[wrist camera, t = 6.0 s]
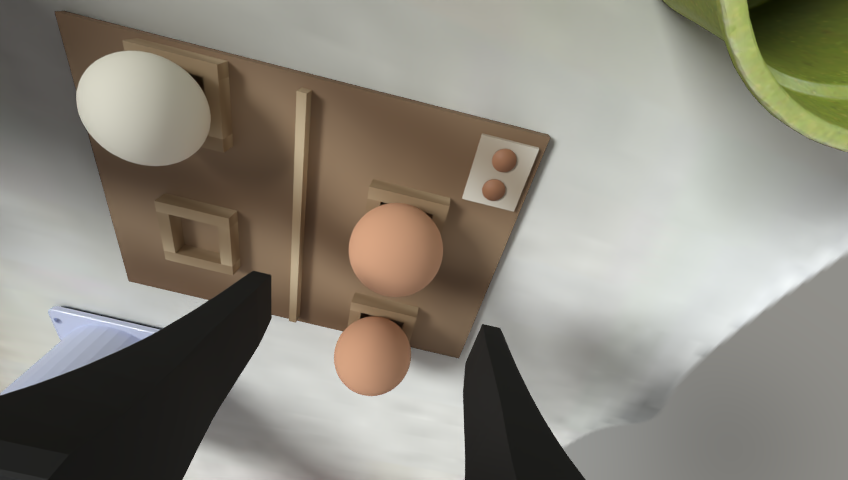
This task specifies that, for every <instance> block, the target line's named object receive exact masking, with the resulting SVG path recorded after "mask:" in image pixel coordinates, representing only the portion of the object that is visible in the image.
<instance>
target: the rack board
mask: <svg viewBox="0 0 848 480" xmlns="http://www.w3.org/2000/svg"><path fill="white" fill-rule="evenodd" d="M55 15H56V19H57V22H58V26H59V30H60V33H61V37H62V41H63V44H64V48H65V51H66V55H67V59H68V62H69V66H70V70H71V73H72V77H73V80H74V84H75V88H76V91H77V88H78V84H79V81H80V79H81V77H82V75H83V73H84V72H85V71H86V69H87V68H88V67H89V66H90V65H91V64H93V63H94V62H95V61H96V60H98V59H100V58H102V57H104V56H106V55H109V54H112V53H115V52H121V51H142V52H148V53H152V54H155V55H158V56H161V57H164V58H166V59H168V60H170V61H172V62H174V63H175V64H177V65H179V66H180V67H181V68H183V69H184V70H185V71H186V72H187V73H189V74H190V75H191V76H192V77H193V79H194V80H195V81H196V82H197V83H198V85H199V86H200V87H201V89H202V91H203V92H204V94H205V96H206V99H207V101H208V105H209V108H210V114H211V123H210V130H209V133H208V136H207V138H206V140H205V142H204V143H203V145H202V146H201V147H200V149H199V150H198V151H197V152H196V153H194V154H193V155H192V156H190V157H189V158H187V159H185V160H183V161H181V162H178V163H175V164H171V165H165V166H147V165H140V164H136V163H132V162H129V161H126V160H124V159H122V158H120V157H118V156H116V155H114V154H112V153H110V152H109V151H107V150H106V149H105V148H103V147H102V146H101V145H100V144H99V143H98V142H97V141H96V140H95V139H94V138H93V137H92V136H91V135H90V134H89V132H88V135H89V138H90V142H91V146H92V149H93V153H94V157H95V160H96V164H97V168H98V171H99V175H100V178H101V182H102V186H103V189H104V193H105V197H106V200H107V204H108V207H109V211H110V215H111V218H112V222H113V226H114V229H115V233H116V236H117V240H118V244H119V247H120V251H121V255H122V258H123V262H124V266H125V269H126V273H127V276H128V280H129V281H130V282H135V283H139V284H143V285H147V286H152V287H156V288H160V289H165V290H169V291H173V292H177V293H182V294H186V295H190V296H194V297H199V298H203V299H207V300H210V299H212V298H213V297H215V296H216V295H218V294H219V293H221V292H222V291H224V290H225V289H227V288H228V287H230V286H231V285H233V284H234V283H235V282H237V281H238V280H240V279H241V278H243V277H244V276H246V275H247V274H249V273H250V272H252V271H257V272H261V273H266V274H270V275H271V315H276V316H280V317H284V318H289V321H291V322H296V321H301V322H306V323H310V324H314V325H318V326H323V327H327V328H331V329H336V330H340V331H344V330H345V329H346V328H347V327H348V326H349V325H351V324H352V323H353V322H355V321H357V320H359V319H362V318H365V317H371V316H377V317H383V318H386V319H389V320H391V321H393V322H394V323H396V324H397V325H398V326H399V327H400V328H401V329H402V330H403V331H404V333H405V334H406V336H407V338H408V341H409V344H410V347H413V348H417V349H421V350H425V351H430V352H434V353H438V354H443V355H447V356H451V357H455V358H459V357H460V354H461V352H462V349H463V347H464V345H465V342H466V340H467V337H468V335H469V333H470V330H471V328H472V325H473V323H474V320H475V318H476V316H477V313H478V311H479V308H480V306H481V304H482V301H483V299H484V296H485V294H486V292H487V289H488V287H489V284H490V282H491V279H492V277H493V275H494V272H495V270H496V267H497V265H498V263H499V260H500V258H501V255H502V253H503V251H504V248H505V246H506V243H507V241H508V238H509V236H510V234H511V231H512V229H513V226H514V224H515V222H516V219H517V217H518V214H519V212H520V210H521V207H522V205H523V202H524V200H525V197H526V195H527V193H528V190H529V188H530V185H531V183H532V181H533V178H534V176H535V173H536V171H537V169H538V166H539V164H540V161H541V159H542V156H543V154H544V152H545V149H546V147H547V144H548V142H549V140H550V136H549V135H548V134H544V133H540V132H536V131H532V130H528V129H524V128H520V127H517V126H513V125H509V124H505V123H501V122H497V121H493V120H489V119H485V118H481V117H477V116H473V115H469V114H466V113H462V112H458V111H454V110H450V109H446V108H442V107H438V106H434V105H430V104H426V103H422V102H419V101H415V100H411V99H407V98H403V97H399V96H395V95H391V94H387V93H383V92H379V91H375V90H372V89H368V88H364V87H360V86H356V85H352V84H348V83H344V82H340V81H336V80H332V79H328V78H324V77H321V76H317V75H313V74H309V73H305V72H301V71H297V70H293V69H289V68H285V67H281V66H277V65H274V64H270V63H266V62H262V61H258V60H254V59H250V58H246V57H242V56H238V55H234V54H230V53H227V52H223V51H219V50H215V49H211V48H207V47H203V46H199V45H195V44H191V43H187V42H183V41H179V40H176V39H172V38H168V37H164V36H160V35H156V34H152V33H148V32H144V31H140V30H136V29H132V28H129V27H125V26H121V25H117V24H113V23H109V22H105V21H101V20H97V19H93V18H89V17H85V16H81V15H78V14H74V13H70V12H66V11H55ZM389 203H404V204H408V205H412V206H414V207H416V208H418V209H420V210H422V211H423V212H424V213H426V214H427V215H428V216H429V217H430V218H431V219H432V220H433V221H434V223H435V224H436V226H437V228H438V230H439V232H440V234H441V238H442V242H443V257H442V262H441V265H440V268H439V270H438V272H437V274H436V276H435V277H434V278H433V280H432V281H431V282H430V283H429V284H428V285H427V286H426V287H425V288H423V289H422V290H420V291H418V292H416V293H414V294H411V295H408V296H403V297H388V296H383V295H380V294H377V293H375V292H373V291H372V290H370V289H369V288H367V287H366V286H365V285H364V284H363V283H362V282H361V281H360V280H359V279H358V277H357V276H356V274H355V273H354V271H353V269H352V266H351V263H350V259H349V241H350V237H351V234H352V232H353V229H354V227H355V226H356V224H357V223H358V221H359V220H360V219H361V218H362V217H363V216H364V215H365V214H366V213H367V212H369V211H370V210H372V209H374V208H376V207H378V206H381V205H384V204H389Z"/></svg>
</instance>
